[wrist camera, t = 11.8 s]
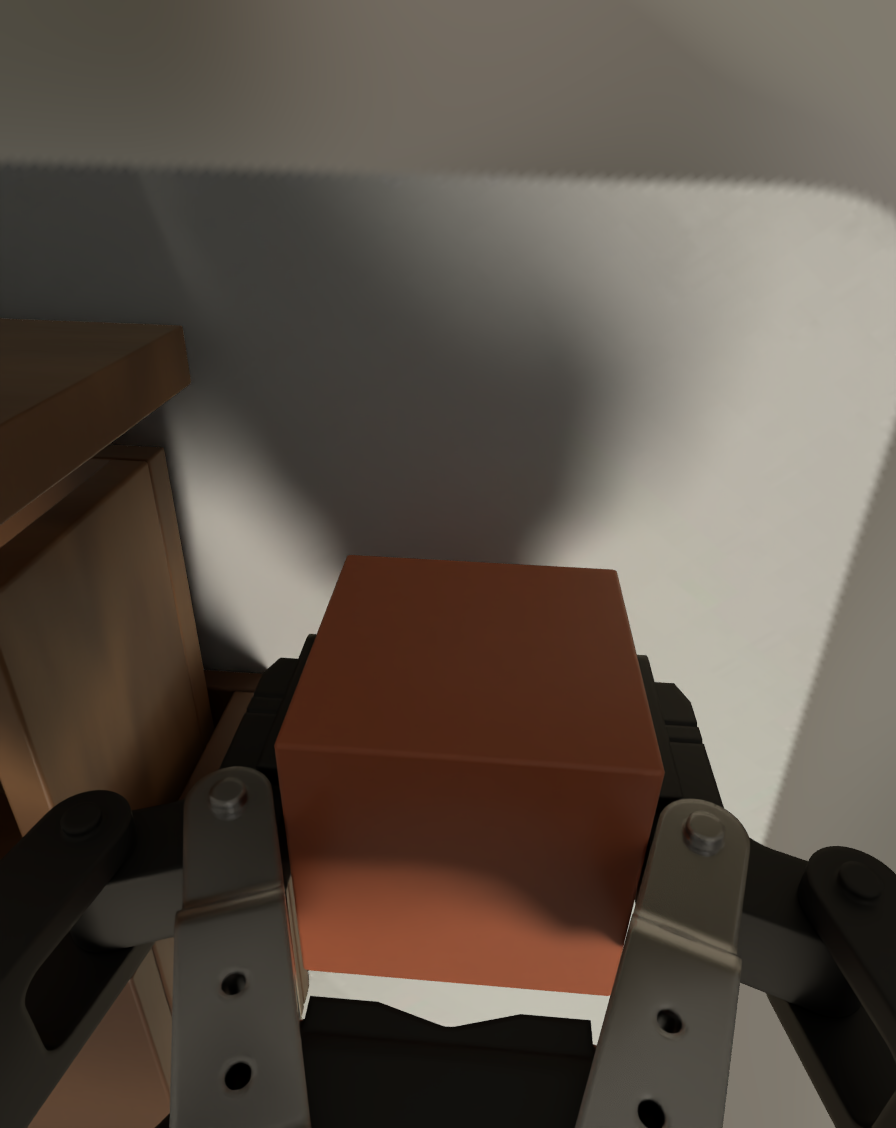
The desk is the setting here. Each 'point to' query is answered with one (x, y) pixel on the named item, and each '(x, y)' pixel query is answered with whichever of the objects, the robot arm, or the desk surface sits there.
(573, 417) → the desk surface
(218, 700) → the cabinet
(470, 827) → the block
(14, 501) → the drawer
